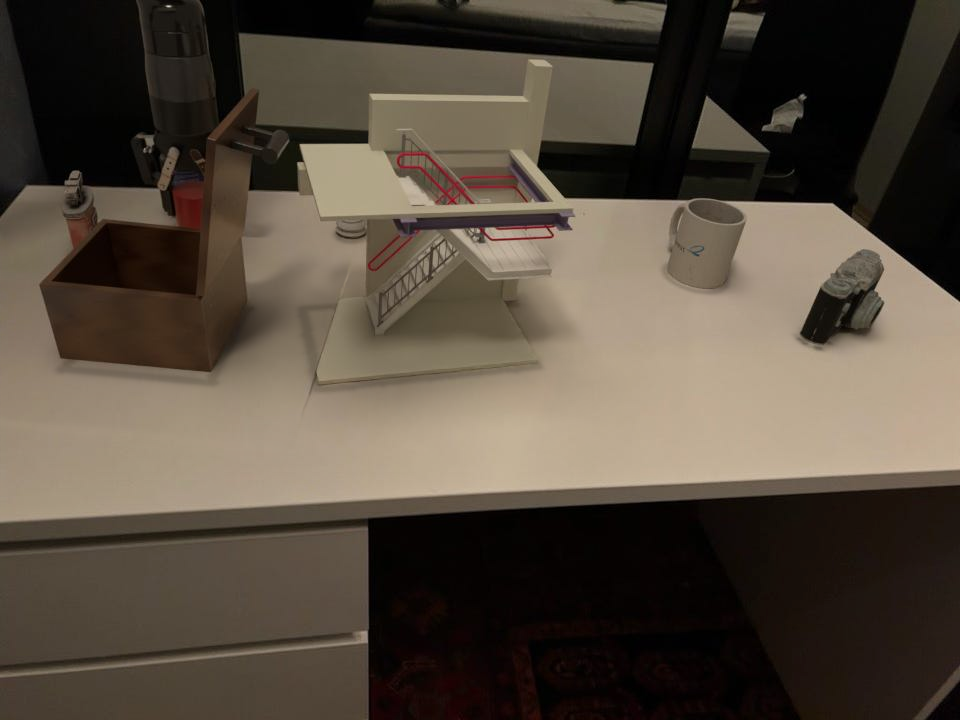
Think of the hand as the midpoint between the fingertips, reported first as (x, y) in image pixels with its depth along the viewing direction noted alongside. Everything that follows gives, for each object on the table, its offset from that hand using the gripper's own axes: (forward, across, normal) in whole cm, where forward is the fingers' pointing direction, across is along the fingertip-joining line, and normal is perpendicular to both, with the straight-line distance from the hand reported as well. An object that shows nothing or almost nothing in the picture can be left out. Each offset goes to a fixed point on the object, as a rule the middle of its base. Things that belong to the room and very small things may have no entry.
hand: (198, 216), depth 98 cm
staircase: (+4, +32, -17) cm, 37 cm away
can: (+4, 0, 0) cm, 4 cm away
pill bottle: (+4, -5, +10) cm, 12 cm away
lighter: (+4, -13, -5) cm, 15 cm away
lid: (-14, +11, -21) cm, 28 cm away
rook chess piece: (+4, +19, +8) cm, 21 cm away
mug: (+4, +70, +8) cm, 71 cm away
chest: (+4, +2, -21) cm, 22 cm away
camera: (+4, +88, -5) cm, 88 cm away
